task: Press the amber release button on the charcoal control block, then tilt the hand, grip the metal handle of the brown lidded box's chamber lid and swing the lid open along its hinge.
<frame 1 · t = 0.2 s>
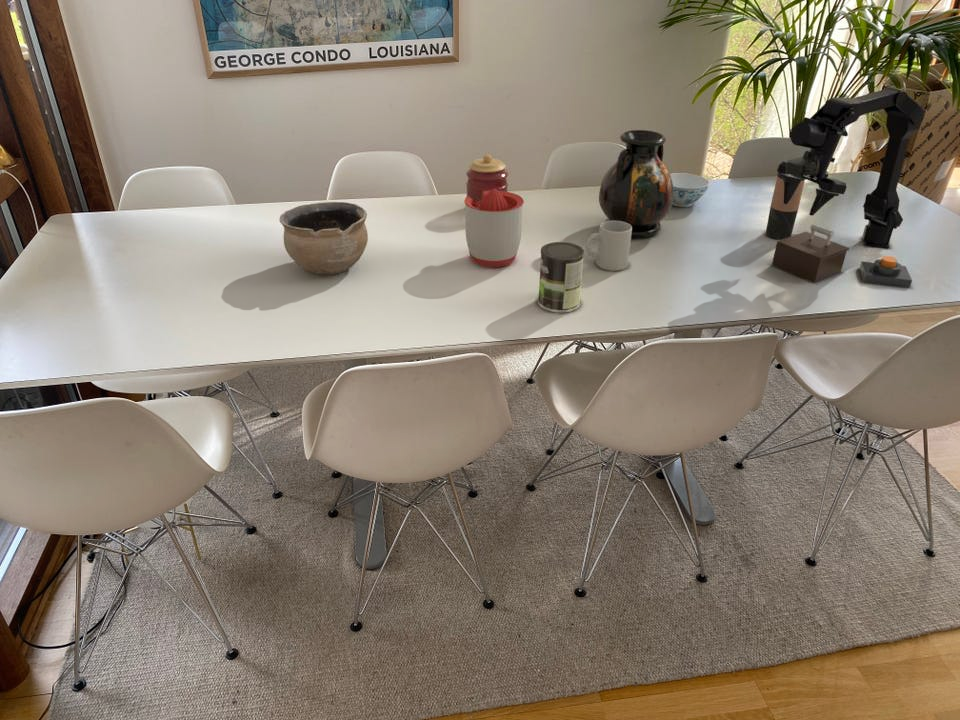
hand: (797, 209, 203), 15 cm above the table, tool pointing down, fingers open, 9 cm apart
release button: (888, 262, 201), point 5 cm above the table, slide at 0.1 cm
control block: (883, 278, 203), on the table
mug: (605, 265, 209), on the table
travel mug: (777, 235, 228), on the table
kitchen canister: (486, 210, 244), on the table
citrus juicer: (490, 259, 212), on the table
amphora vase: (632, 229, 231), on the table
brown lidded box: (805, 269, 208), on the table
coffee can: (558, 304, 189), on the table
ceramic bowl: (328, 267, 206), on the table
chamber lid: (814, 238, 203), point 9 cm above the table, hinge at 0.0°
chinaware: (681, 204, 250), on the table
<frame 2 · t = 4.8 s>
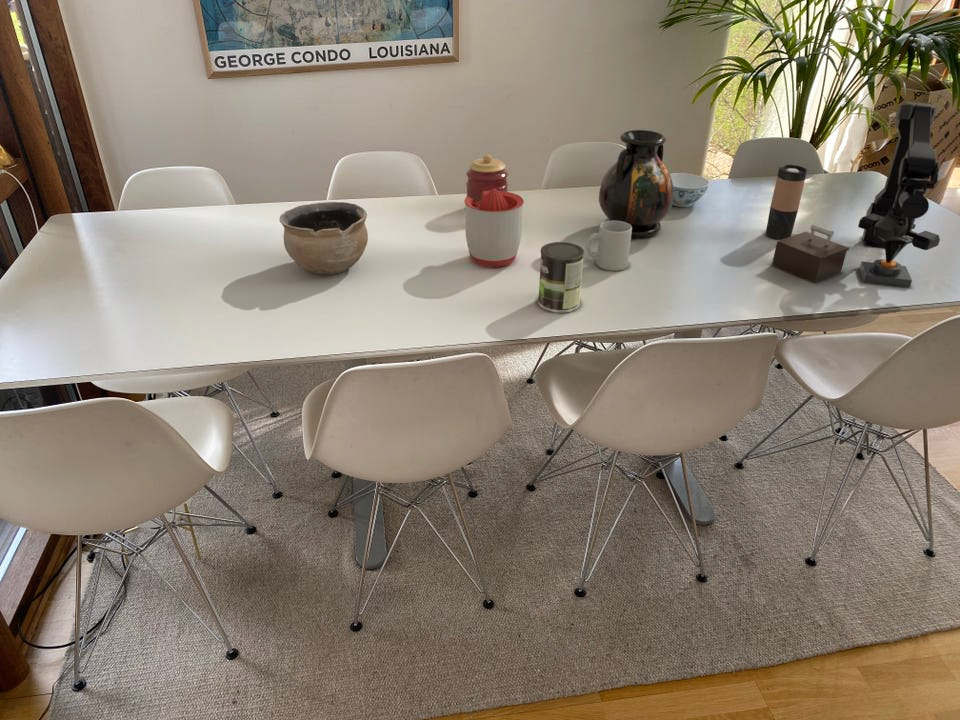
hand: (888, 262, 201), 5 cm above the table, tool pointing down, fingers closed, pressing on release button
release button: (887, 265, 201), point 4 cm above the table, slide at -0.8 cm, touching gripper
everything else where it was.
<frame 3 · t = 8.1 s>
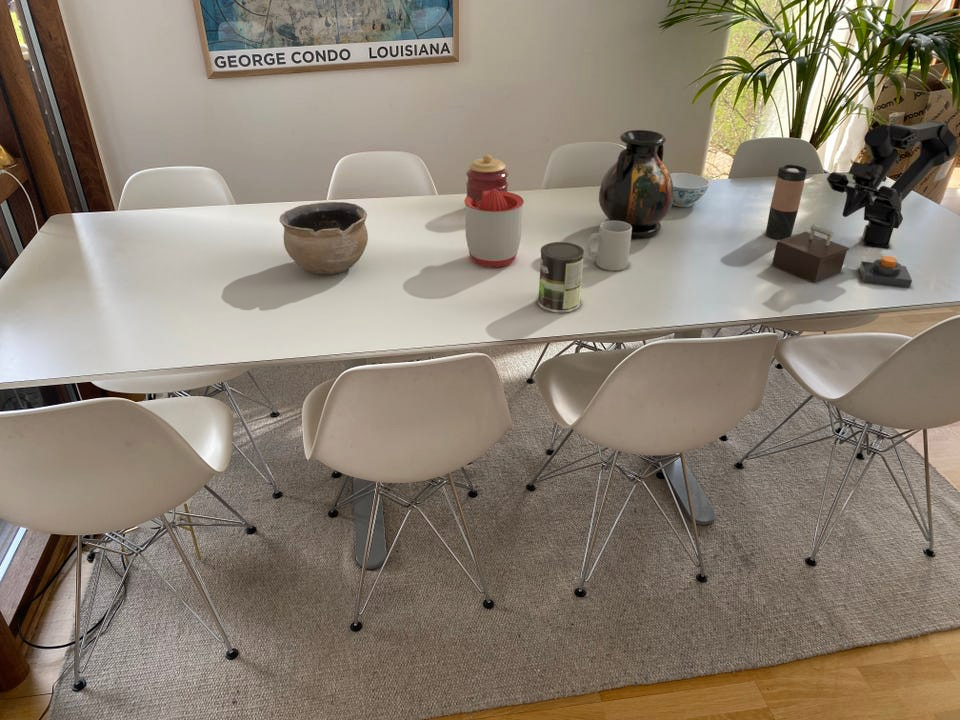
hand: (844, 216, 206), 13 cm above the table, tool tilted 45°, fingers closed
release button: (888, 262, 201), point 5 cm above the table, slide at 0.1 cm
everything else where it was.
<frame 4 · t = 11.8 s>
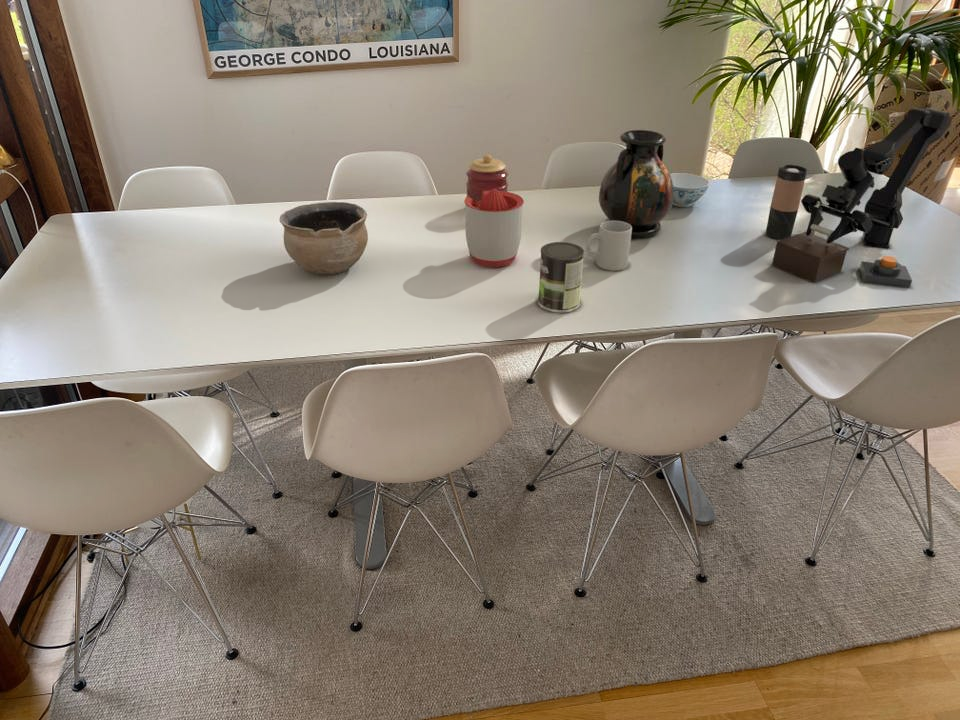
hand: (816, 238, 204), 8 cm above the table, tool tilted 45°, fingers closed on chamber lid, 6 cm apart
chamber lid: (814, 238, 203), point 9 cm above the table, hinge at 0.0°, touching gripper
everything else where it was.
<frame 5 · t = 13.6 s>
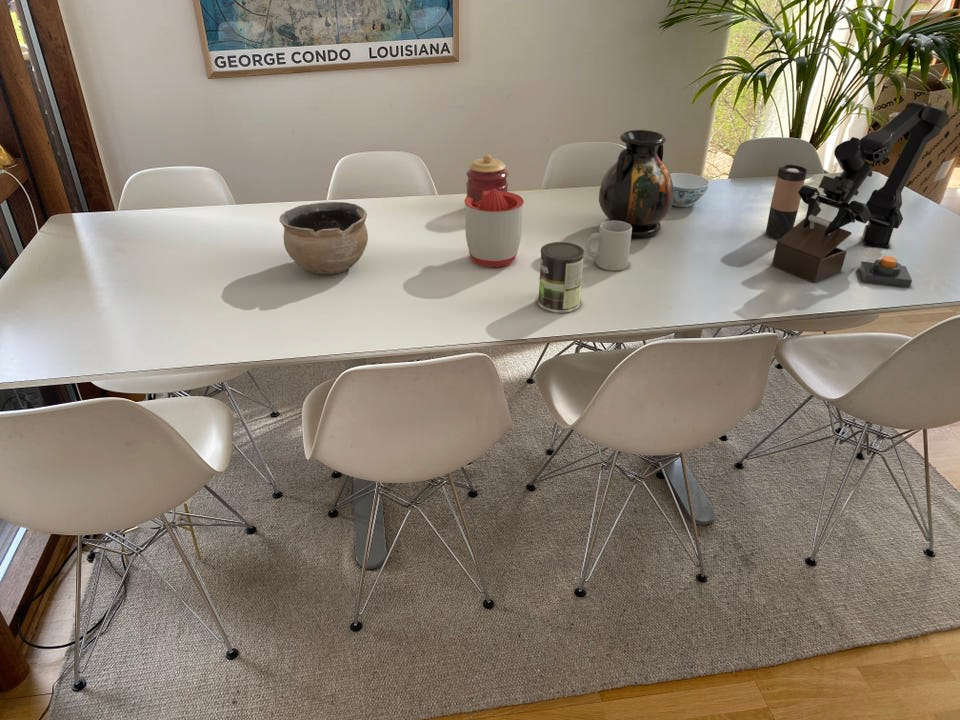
hand: (814, 230, 202), 11 cm above the table, tool tilted 45°, fingers closed on chamber lid, 6 cm apart
chamber lid: (813, 231, 201), point 11 cm above the table, hinge at 22.2°, touching gripper
everything else where it was.
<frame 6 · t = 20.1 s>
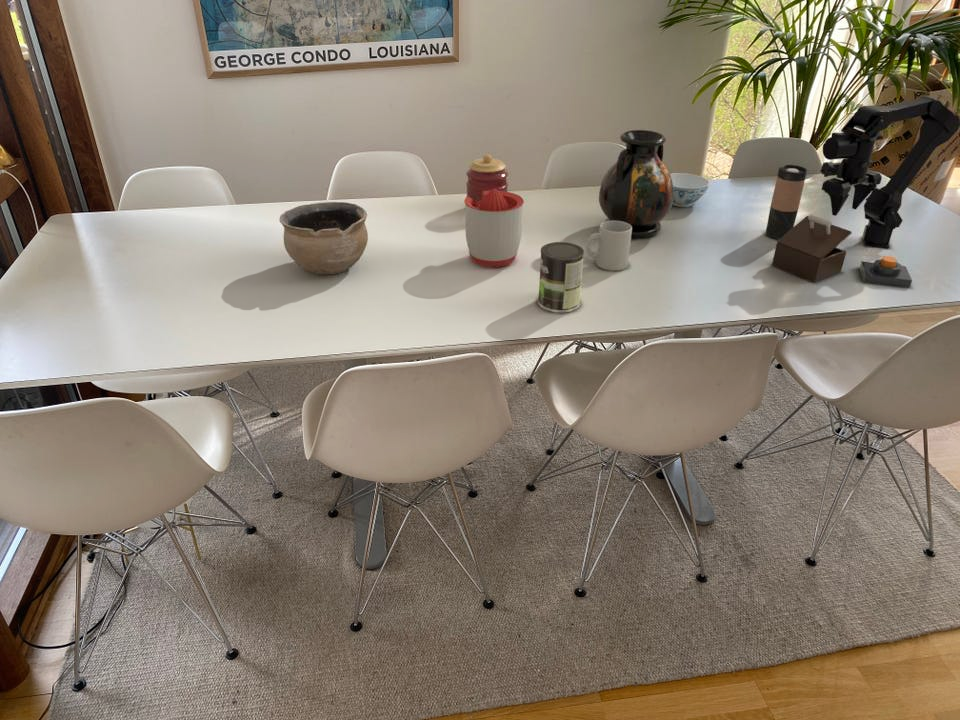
hand: (844, 212, 214), 11 cm above the table, tool pointing down, fingers open, 9 cm apart
chamber lid: (813, 231, 201), point 11 cm above the table, hinge at 23.4°
everything else where it was.
at the end: release button pushed in 1.1 cm at the most during the clip, back to where it started at the end; release button slide at 0.1 cm; chamber lid at +23° (first picture: +0°) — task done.
